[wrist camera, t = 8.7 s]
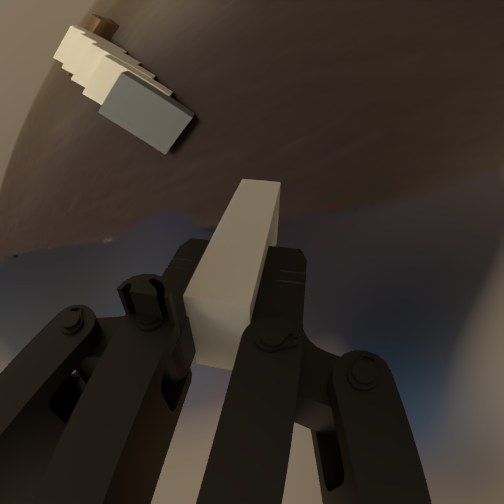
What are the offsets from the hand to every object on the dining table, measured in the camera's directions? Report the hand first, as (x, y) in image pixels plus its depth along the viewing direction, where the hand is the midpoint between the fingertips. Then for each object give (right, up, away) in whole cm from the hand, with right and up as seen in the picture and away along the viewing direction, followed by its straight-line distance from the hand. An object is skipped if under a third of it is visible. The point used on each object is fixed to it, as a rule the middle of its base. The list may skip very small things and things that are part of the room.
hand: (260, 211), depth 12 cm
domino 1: (-8, +11, +17) cm, 22 cm away
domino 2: (-11, +14, +18) cm, 25 cm away
